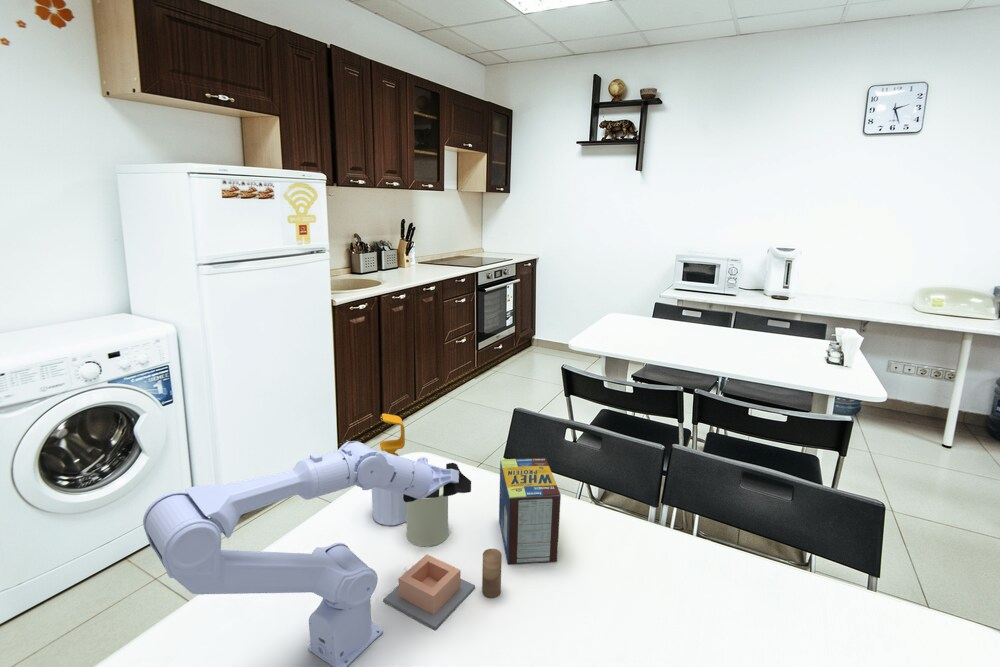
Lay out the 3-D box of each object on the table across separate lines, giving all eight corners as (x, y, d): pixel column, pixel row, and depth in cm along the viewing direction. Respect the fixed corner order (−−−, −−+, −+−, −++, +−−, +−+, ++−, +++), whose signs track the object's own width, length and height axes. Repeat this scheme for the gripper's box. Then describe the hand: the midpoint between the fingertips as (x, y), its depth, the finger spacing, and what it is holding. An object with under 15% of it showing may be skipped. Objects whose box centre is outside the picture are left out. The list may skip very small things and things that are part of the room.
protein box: (543, 517, 124) (546, 456, 119) (557, 562, 109) (561, 494, 105) (497, 520, 122) (499, 458, 118) (506, 565, 108) (508, 497, 103)
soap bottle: (371, 506, 126) (367, 409, 120) (410, 501, 129) (408, 406, 122) (374, 529, 118) (370, 426, 111) (415, 522, 120) (413, 422, 114)
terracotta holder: (435, 630, 91) (435, 608, 90) (383, 601, 97) (382, 580, 96) (475, 588, 101) (475, 567, 100) (425, 564, 107) (425, 544, 106)
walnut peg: (494, 600, 98) (495, 563, 96) (478, 593, 100) (479, 556, 98) (504, 589, 101) (505, 553, 99) (488, 582, 103) (489, 546, 101)
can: (452, 522, 121) (452, 474, 118) (444, 548, 112) (444, 498, 109) (412, 519, 122) (411, 471, 119) (401, 545, 113) (399, 494, 110)
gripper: (435, 445, 89) (484, 462, 98) (374, 458, 96) (425, 473, 106) (433, 488, 85) (484, 501, 95) (370, 499, 93) (423, 510, 103)
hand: (453, 489), depth 100 cm, fingers open, 7 cm apart
